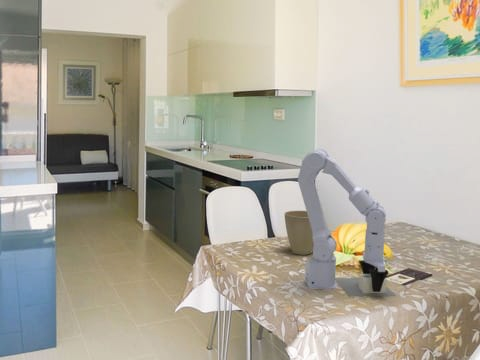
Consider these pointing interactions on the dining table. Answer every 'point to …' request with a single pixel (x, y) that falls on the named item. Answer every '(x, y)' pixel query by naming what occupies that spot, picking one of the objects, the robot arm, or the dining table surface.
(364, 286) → the card deck box
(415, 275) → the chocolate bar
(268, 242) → the dining table surface
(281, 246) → the dining table surface
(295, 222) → the plant pot
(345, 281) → the mat
